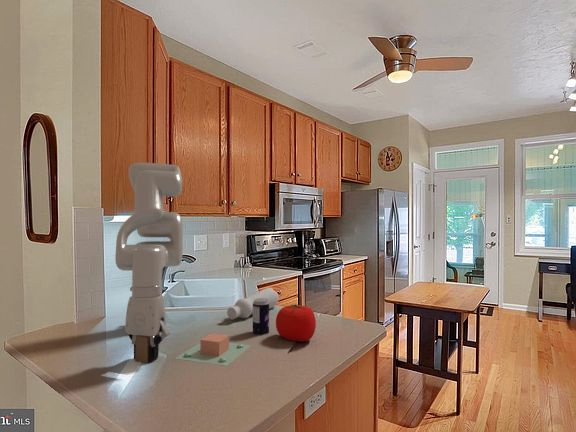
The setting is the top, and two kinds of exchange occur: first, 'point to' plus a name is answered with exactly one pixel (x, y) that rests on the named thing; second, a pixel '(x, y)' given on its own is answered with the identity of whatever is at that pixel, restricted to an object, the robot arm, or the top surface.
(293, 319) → the tomato
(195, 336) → the top surface
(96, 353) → the top surface
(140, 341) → the wooden block
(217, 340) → the brick
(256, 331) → the beverage can
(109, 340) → the top surface
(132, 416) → the top surface
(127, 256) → the robot arm
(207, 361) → the baseplate
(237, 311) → the bottle
